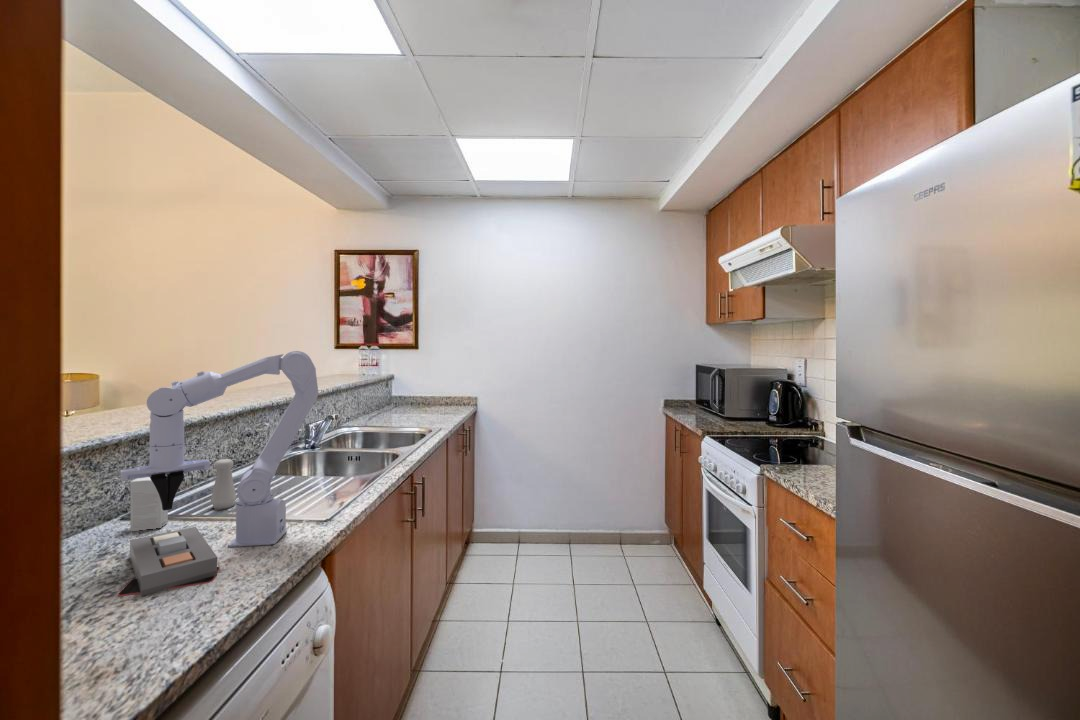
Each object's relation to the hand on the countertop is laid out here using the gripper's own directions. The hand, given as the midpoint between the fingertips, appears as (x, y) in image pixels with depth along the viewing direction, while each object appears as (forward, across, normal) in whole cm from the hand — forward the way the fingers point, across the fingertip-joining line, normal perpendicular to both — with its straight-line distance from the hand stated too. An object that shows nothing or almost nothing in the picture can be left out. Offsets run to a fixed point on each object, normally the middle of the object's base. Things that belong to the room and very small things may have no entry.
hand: (167, 508), depth 98 cm
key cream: (+8, 0, +1) cm, 8 cm away
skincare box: (+10, +1, -21) cm, 23 cm away
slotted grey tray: (+9, 0, +8) cm, 12 cm away
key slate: (+7, 0, +8) cm, 11 cm away
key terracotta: (+8, 0, +15) cm, 17 cm away
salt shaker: (+10, -15, -27) cm, 33 cm away
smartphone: (+10, +1, +16) cm, 19 cm away
